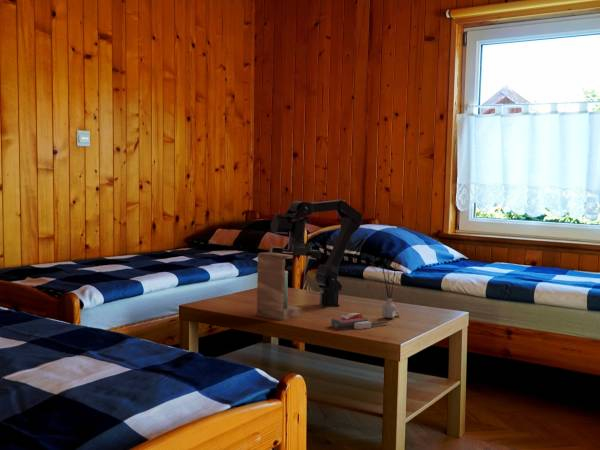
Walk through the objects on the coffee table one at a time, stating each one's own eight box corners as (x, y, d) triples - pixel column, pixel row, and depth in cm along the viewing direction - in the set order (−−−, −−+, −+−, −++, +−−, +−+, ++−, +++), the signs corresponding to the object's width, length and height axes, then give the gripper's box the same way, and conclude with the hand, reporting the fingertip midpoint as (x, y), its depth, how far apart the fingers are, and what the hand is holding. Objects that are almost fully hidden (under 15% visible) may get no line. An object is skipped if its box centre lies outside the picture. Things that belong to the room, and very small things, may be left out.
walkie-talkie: (342, 333, 211) (389, 326, 222) (342, 319, 211) (389, 313, 221) (326, 327, 218) (373, 321, 229) (327, 314, 218) (373, 309, 229)
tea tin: (288, 306, 236) (289, 270, 235) (285, 308, 231) (286, 272, 230) (275, 305, 237) (275, 270, 236) (271, 308, 232) (272, 272, 231)
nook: (278, 310, 242) (279, 251, 240) (301, 315, 234) (303, 254, 232) (256, 314, 234) (257, 253, 232) (280, 320, 226) (282, 256, 224)
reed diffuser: (387, 321, 228) (388, 265, 227) (371, 318, 233) (373, 262, 231) (403, 317, 236) (405, 262, 234) (388, 314, 240) (390, 260, 239)
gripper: (276, 233, 234) (272, 276, 235) (326, 237, 238) (321, 279, 239) (271, 231, 245) (267, 272, 246) (319, 235, 249) (315, 276, 249)
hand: (293, 275), depth 245 cm, fingers open, 9 cm apart
